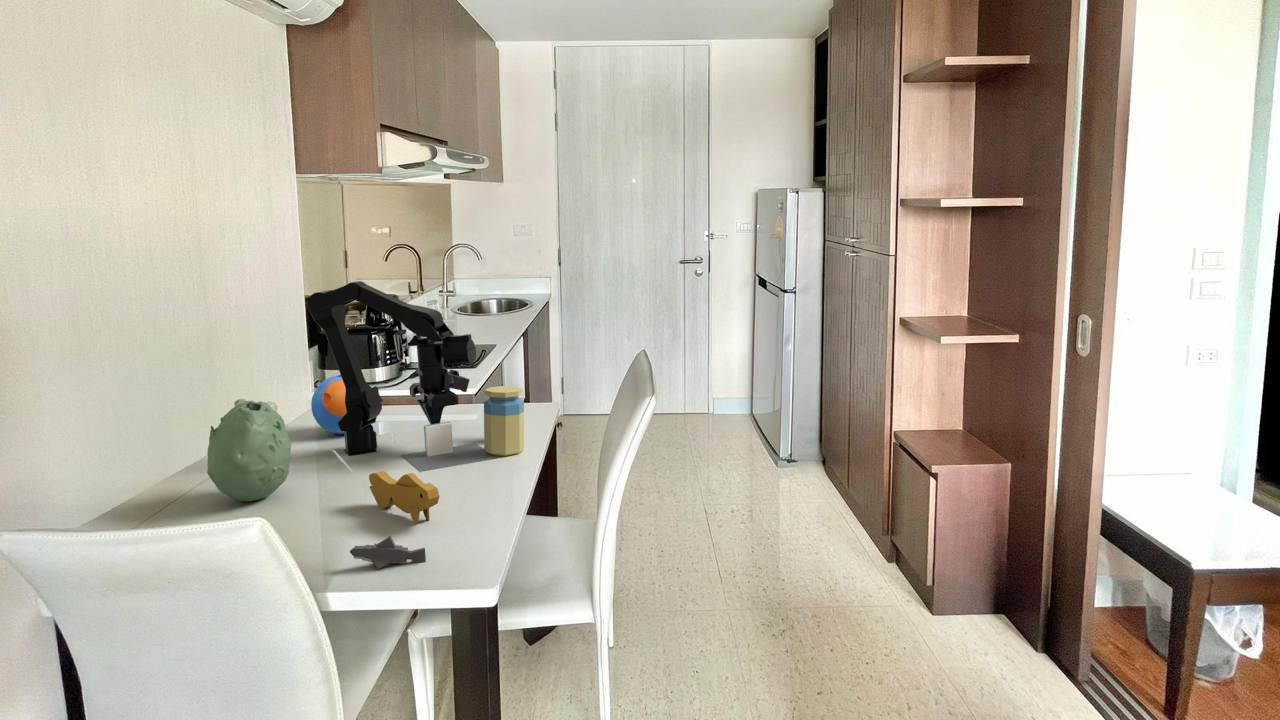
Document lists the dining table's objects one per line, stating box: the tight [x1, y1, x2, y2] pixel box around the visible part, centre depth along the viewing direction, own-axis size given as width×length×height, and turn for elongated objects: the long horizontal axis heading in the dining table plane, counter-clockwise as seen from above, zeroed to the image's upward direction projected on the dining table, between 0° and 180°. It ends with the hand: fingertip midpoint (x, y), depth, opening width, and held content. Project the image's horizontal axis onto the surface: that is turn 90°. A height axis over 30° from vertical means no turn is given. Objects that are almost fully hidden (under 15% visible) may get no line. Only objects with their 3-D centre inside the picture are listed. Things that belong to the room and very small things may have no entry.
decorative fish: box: [368, 470, 440, 525], centre depth 165 cm, size 22×3×10 cm, turn 44°
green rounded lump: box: [206, 398, 292, 502], centre depth 177 cm, size 16×19×20 cm
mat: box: [400, 442, 498, 473], centre depth 203 cm, size 18×16×1 cm
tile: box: [423, 421, 454, 456], centre depth 205 cm, size 6×2×7 cm, turn 120°
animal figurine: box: [349, 535, 427, 571], centre depth 142 cm, size 12×4×5 cm, turn 100°
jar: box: [483, 385, 525, 457], centre depth 204 cm, size 9×9×15 cm
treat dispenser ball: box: [310, 374, 347, 435], centre depth 229 cm, size 16×15×15 cm
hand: (435, 429), depth 207 cm, fingers closed
